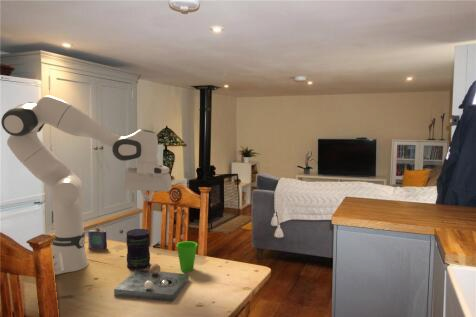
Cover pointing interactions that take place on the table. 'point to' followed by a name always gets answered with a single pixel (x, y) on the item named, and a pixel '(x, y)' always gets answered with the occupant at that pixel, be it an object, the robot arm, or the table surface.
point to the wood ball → (155, 269)
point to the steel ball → (164, 282)
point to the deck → (136, 289)
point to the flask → (97, 239)
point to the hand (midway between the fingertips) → (147, 200)
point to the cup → (186, 255)
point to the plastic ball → (148, 284)
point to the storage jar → (138, 249)
